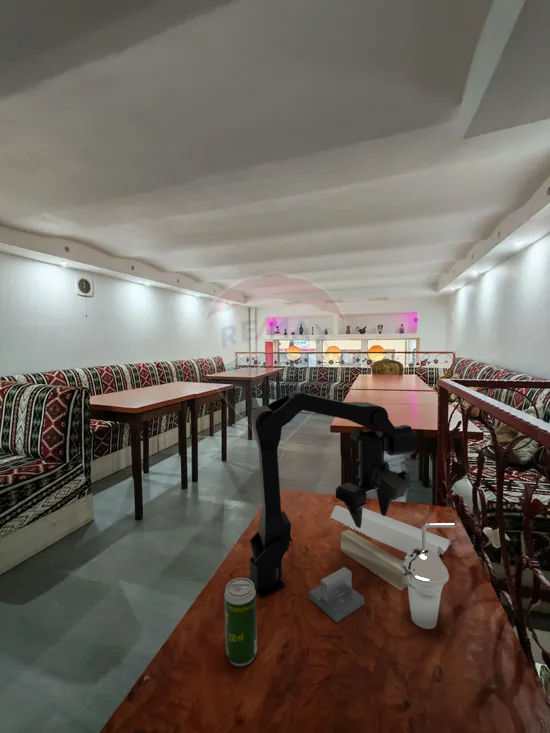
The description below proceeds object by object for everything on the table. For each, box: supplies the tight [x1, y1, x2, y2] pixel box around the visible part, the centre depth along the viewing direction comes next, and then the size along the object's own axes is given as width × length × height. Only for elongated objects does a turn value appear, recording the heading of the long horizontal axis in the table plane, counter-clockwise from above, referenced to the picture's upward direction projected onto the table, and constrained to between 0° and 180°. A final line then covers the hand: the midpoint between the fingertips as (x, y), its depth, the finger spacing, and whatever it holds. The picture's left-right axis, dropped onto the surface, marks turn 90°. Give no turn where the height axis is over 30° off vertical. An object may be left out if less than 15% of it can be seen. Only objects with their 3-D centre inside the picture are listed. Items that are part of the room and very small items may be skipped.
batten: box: [340, 529, 408, 591], centre depth 83 cm, size 3×18×5 cm, turn 34°
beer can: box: [223, 577, 258, 667], centre depth 60 cm, size 5×5×12 cm
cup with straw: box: [401, 522, 456, 630], centre depth 66 cm, size 8×9×20 cm
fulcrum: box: [308, 566, 365, 624], centre depth 72 cm, size 8×8×6 cm
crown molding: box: [329, 505, 452, 557], centre depth 98 cm, size 31×12×4 cm, turn 44°
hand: (371, 521), depth 82 cm, fingers open, 9 cm apart
